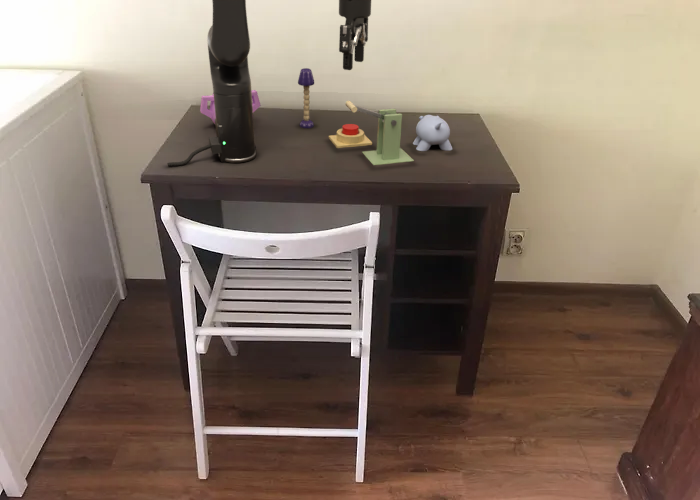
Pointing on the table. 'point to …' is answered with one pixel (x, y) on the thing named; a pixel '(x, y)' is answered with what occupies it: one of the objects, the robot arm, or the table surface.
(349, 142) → the button box
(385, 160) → the bracket
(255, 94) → the pot
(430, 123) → the hippopotamus toy
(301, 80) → the toy lamp
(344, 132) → the button
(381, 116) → the lever
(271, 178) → the table surface
